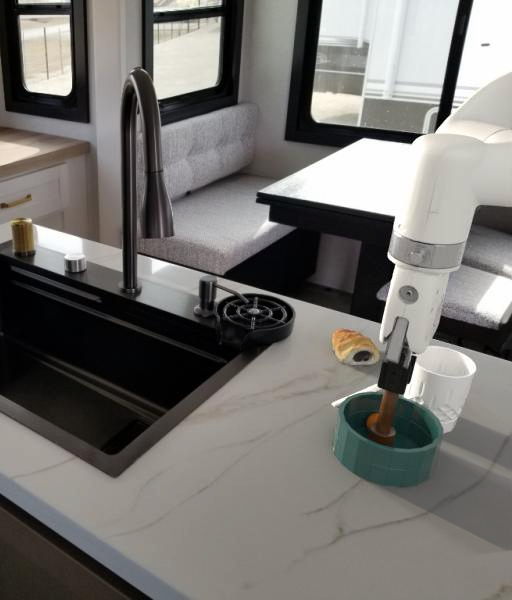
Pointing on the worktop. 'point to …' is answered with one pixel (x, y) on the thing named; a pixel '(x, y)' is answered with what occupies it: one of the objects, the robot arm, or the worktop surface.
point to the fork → (369, 389)
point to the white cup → (441, 383)
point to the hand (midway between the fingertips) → (393, 384)
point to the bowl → (382, 459)
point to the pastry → (354, 348)
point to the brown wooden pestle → (385, 420)
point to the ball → (372, 419)
